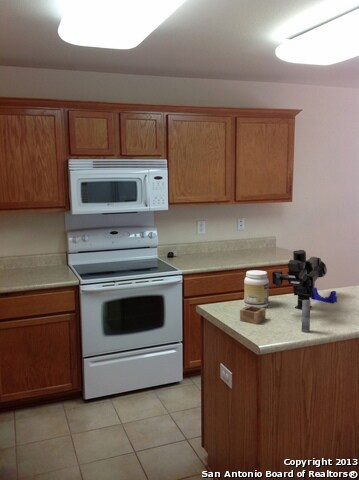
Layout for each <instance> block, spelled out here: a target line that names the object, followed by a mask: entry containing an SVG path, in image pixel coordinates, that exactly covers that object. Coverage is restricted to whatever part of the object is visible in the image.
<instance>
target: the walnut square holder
mask: <svg viewBox="0 0 359 480" xmlns="http://www.w3.org/2000/svg"><path fill="white" fill-rule="evenodd" d="M265 320H266V307H264V308H260V307H255V306H245V307H243V308H241V309H240V310H239V321H240V322H244V323H247V324H254V325H258V324H260V323H262V322H263V321H265Z"/></svg>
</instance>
